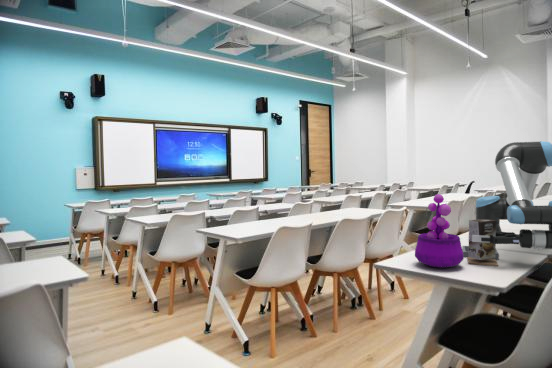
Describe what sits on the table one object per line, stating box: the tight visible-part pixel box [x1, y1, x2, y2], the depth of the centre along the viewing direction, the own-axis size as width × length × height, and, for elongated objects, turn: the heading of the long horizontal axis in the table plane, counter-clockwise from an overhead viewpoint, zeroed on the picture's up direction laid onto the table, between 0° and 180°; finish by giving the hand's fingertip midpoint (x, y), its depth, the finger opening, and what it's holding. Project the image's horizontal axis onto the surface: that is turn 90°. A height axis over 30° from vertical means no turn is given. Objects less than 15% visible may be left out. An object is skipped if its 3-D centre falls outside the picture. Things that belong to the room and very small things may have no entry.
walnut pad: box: [466, 257, 499, 267], centre depth 170 cm, size 11×11×1 cm
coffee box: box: [468, 219, 497, 260], centre depth 170 cm, size 9×6×16 cm
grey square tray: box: [461, 245, 500, 261], centre depth 183 cm, size 14×14×3 cm
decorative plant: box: [414, 193, 465, 269], centre depth 165 cm, size 19×18×30 cm
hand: (471, 236), depth 172 cm, fingers closed on coffee box, 10 cm apart
